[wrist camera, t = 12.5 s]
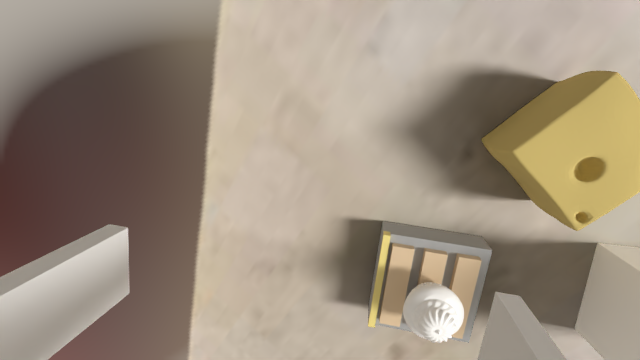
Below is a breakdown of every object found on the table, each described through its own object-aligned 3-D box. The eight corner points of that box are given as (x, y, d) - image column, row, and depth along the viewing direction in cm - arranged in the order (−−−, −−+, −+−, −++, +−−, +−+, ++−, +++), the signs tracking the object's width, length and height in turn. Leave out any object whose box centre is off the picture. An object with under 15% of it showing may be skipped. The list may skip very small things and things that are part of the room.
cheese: (616, 147, 39) (696, 164, 29) (528, 206, 42) (574, 239, 32) (558, 73, 38) (621, 66, 28) (472, 139, 41) (503, 152, 31)
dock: (382, 220, 44) (383, 236, 40) (481, 236, 43) (495, 254, 38) (368, 304, 47) (368, 328, 43) (461, 321, 46) (471, 348, 41)
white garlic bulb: (415, 260, 40) (423, 294, 33) (466, 283, 39) (485, 322, 33) (391, 304, 41) (395, 345, 35) (440, 326, 41) (453, 372, 34)
